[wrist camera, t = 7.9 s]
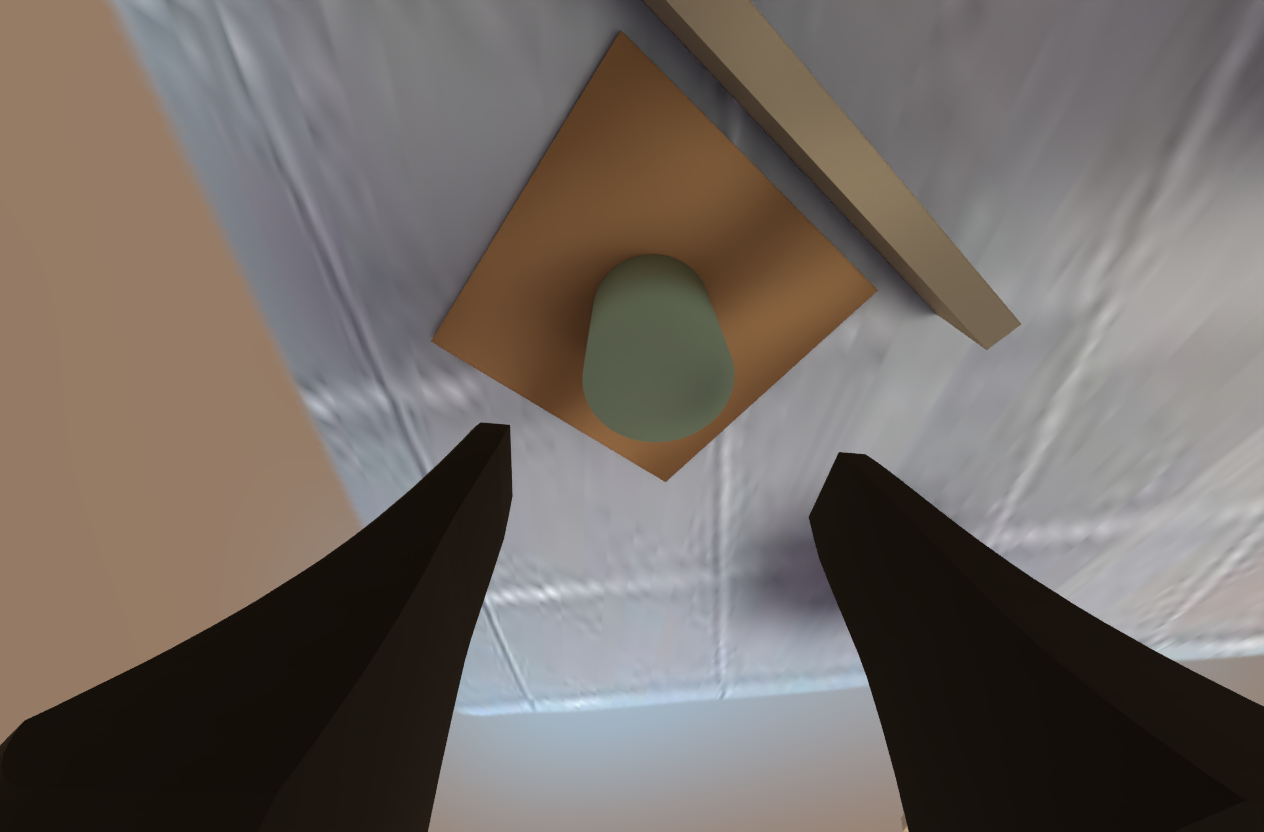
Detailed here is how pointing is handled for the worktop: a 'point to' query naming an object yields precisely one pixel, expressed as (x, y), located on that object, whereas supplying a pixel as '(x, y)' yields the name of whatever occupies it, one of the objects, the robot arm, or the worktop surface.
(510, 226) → the walnut board
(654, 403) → the sage green cylinder
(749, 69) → the taupe wall
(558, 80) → the worktop surface
